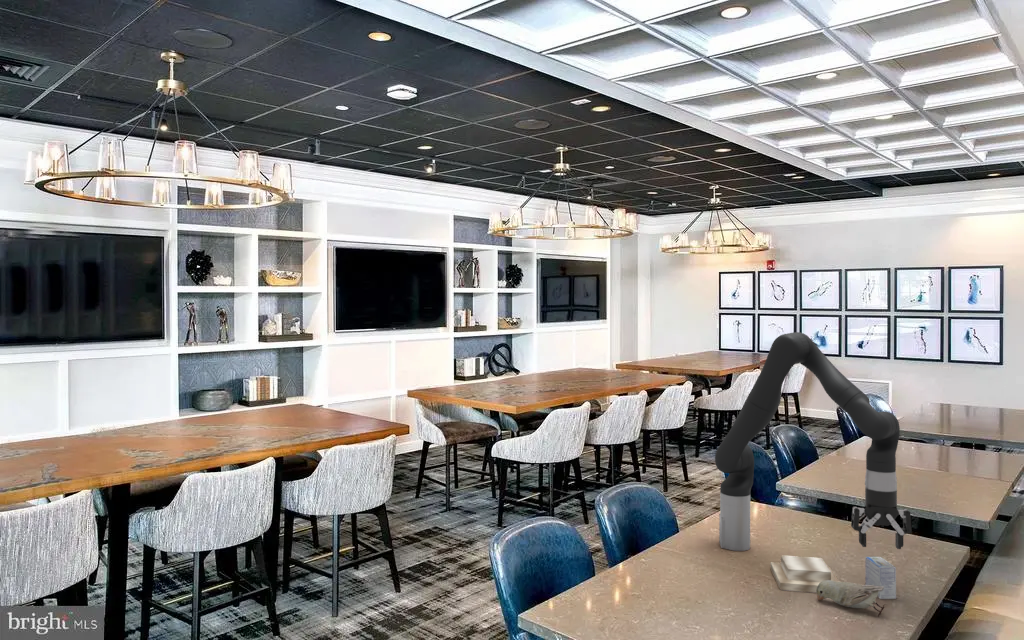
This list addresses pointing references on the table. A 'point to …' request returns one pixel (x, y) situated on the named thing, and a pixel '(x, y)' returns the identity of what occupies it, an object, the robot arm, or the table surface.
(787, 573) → the pedestal
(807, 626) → the table surface
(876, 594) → the decorative bird
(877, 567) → the medicine box
